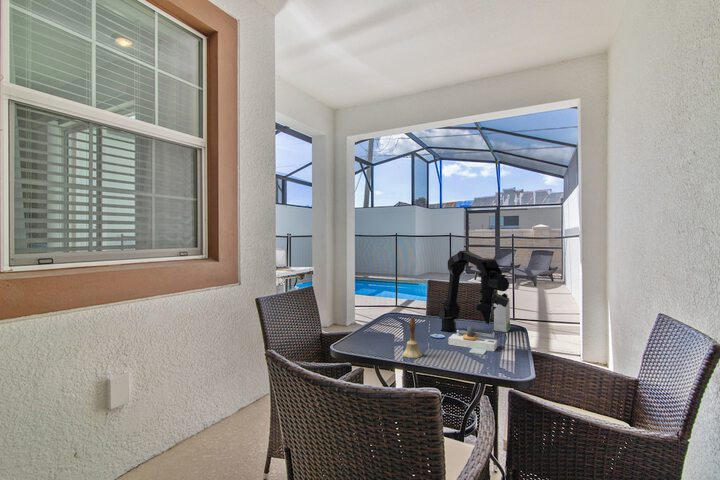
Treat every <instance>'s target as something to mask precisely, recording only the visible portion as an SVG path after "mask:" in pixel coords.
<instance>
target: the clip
mask: <svg viewBox="0 0 720 480" xmlns="http://www.w3.org/2000/svg"><path fill="white" fill-rule="evenodd" d="M495 332H496V331H492V333H487V332H486V333H484V332H478V331H474V335H477V336H479V337H480V336H481V337H486V338H487V337H489V338H495V336H496V335H495V334H496V333H495ZM457 333H461V334H467V330H464V329H463V330H462V329H456V334H457Z"/></svg>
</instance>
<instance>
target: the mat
mask: <svg viewBox="0 0 720 480" xmlns="http://www.w3.org/2000/svg"><path fill="white" fill-rule="evenodd" d="M487 351H488V350H484V349H477V348H471V349H470V350H469V352H468V353H470V354H476V355H480V356H481V355H482V356H484V355H485V354H486V353H487Z"/></svg>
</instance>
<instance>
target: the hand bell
mask: <svg viewBox="0 0 720 480" xmlns="http://www.w3.org/2000/svg"><path fill="white" fill-rule="evenodd" d="M416 325H417V324H416V320H415V317H414V316H411V317H410V320H409V324H408V327H409V331H410V332H409V333H410V335H409V336H410V338H409V339H410V340H408V341H406V347H405V350H404V351H402V356H403V357H405V358H409V359H419V358H421V357H423V353H422V352H421V351H420V349H419V345H418V344H419V343H418V341H416V340H415V330H416Z"/></svg>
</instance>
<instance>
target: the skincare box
mask: <svg viewBox="0 0 720 480" xmlns="http://www.w3.org/2000/svg"><path fill="white" fill-rule="evenodd" d="M510 301H511V300H510V299H509V302H508V304H507V306H506V307H503V306H502V305H500V304H498V305H497V304H493V307H496V308H495V309H494V310H493V330H494V332H503V333H507V332H508V331H509V330H510V329H511V308H510V306H511V305H510V304H511V303H510Z"/></svg>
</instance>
